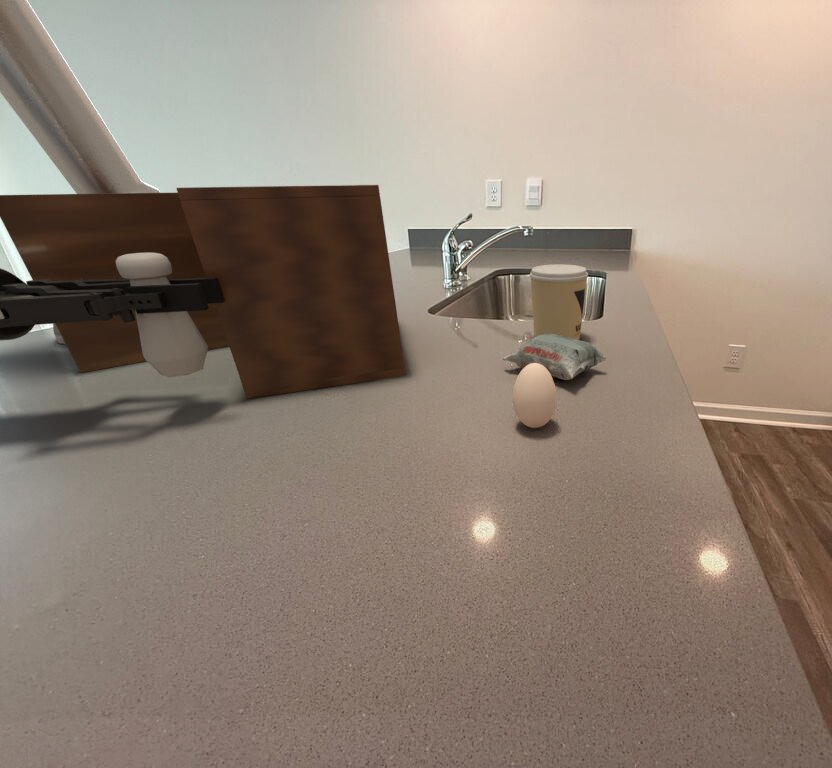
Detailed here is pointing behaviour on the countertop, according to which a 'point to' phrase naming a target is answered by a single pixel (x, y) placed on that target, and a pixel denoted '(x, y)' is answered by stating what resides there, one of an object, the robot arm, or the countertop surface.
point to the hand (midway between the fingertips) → (211, 293)
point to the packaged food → (557, 355)
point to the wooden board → (299, 283)
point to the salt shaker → (163, 321)
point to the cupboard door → (105, 259)
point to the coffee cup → (558, 299)
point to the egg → (534, 396)
